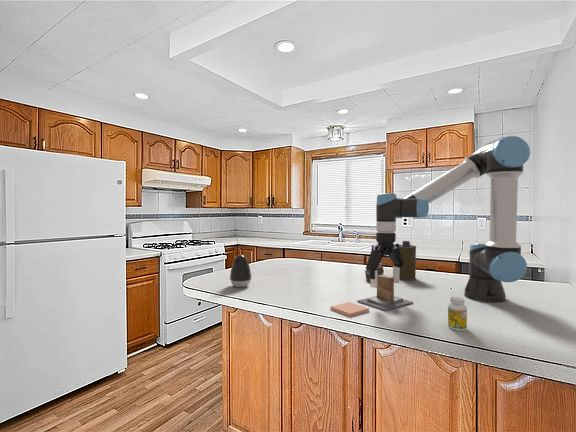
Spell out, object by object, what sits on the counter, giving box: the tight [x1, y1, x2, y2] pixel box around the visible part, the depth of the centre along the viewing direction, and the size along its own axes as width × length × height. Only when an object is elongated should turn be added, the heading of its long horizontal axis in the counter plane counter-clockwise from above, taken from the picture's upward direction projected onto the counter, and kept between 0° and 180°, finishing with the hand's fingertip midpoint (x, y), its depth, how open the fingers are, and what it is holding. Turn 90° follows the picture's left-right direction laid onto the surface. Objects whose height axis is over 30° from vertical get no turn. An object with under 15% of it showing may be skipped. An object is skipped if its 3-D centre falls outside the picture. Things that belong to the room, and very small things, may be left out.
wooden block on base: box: [367, 274, 404, 306], centre depth 133 cm, size 12×8×10 cm, turn 125°
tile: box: [330, 301, 370, 318], centre depth 123 cm, size 10×2×10 cm
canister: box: [399, 240, 417, 281], centre depth 177 cm, size 11×10×20 cm
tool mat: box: [357, 295, 414, 312], centre depth 133 cm, size 14×17×1 cm
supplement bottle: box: [447, 296, 468, 332], centre depth 106 cm, size 5×5×10 cm
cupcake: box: [364, 261, 385, 283], centre depth 172 cm, size 10×10×10 cm
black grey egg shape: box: [229, 254, 252, 288], centre depth 159 cm, size 10×10×15 cm
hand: (385, 285), depth 133 cm, fingers open, 13 cm apart
